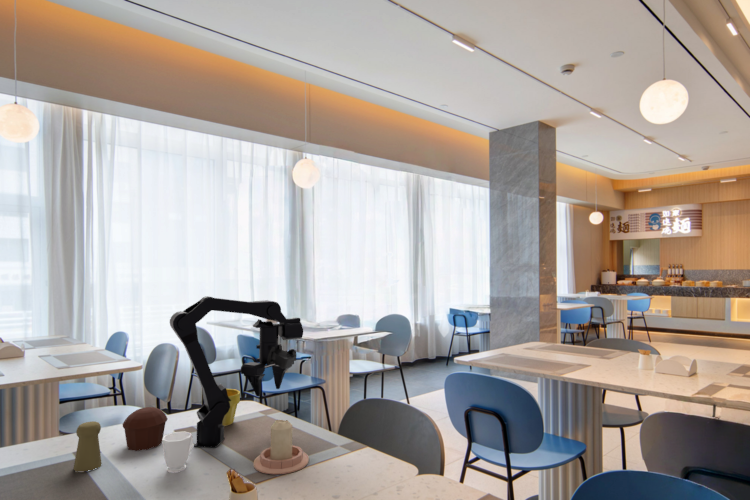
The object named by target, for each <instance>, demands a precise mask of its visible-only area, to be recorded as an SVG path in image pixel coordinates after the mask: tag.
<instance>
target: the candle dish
mask: <svg viewBox="0 0 750 500" xmlns="http://www.w3.org/2000/svg"><path fill="white" fill-rule="evenodd" d="M270 455H271V446H269V447H267V448H263V450H261V452H260V454H259V455H257V457H256V458H254V460H253V469H255V470H256V471H257V472H259V473H262V474H266V475H287V474H291V473H295V472H298V471H300V470H302V469H304V468H305V467H306V466H307V465H308V464H309V461H310V458H309V455H308V453H306V452H305V451H304V450H303V449H302V448H301V446H296V445H294V444H292V458H291V459H285V460H271V457H270Z"/></svg>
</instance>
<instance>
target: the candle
mask: <svg viewBox="0 0 750 500" xmlns="http://www.w3.org/2000/svg"><path fill="white" fill-rule="evenodd" d="M292 445H293V424H292V423H291V422H289V420H284V419H276V420H275V422H273V424H271V426H270V447H271V455H270V457H271V460H285V459H291V458H292Z"/></svg>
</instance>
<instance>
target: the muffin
mask: <svg viewBox="0 0 750 500" xmlns="http://www.w3.org/2000/svg"><path fill="white" fill-rule="evenodd" d="M167 421H168V417H167V415H166V414H165V412H164V411H163V410H162V409H160V408H157V407H154V406H147V407H146V406H145V407H142V408H138V409H136V410H135V411H133V412H131V414H129V415H127V416H126V418H125V420H124V421H123V423H122V427H123V429H124V433H125V434H124V435H125V441H126V447H127V450H128V451H132V452H133V451H134V452H139V451H148V450H150V449H154V448H157V447H159V446H160V445H161V444H162V439H163V437H164V432H165V427H166V423H167Z"/></svg>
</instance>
